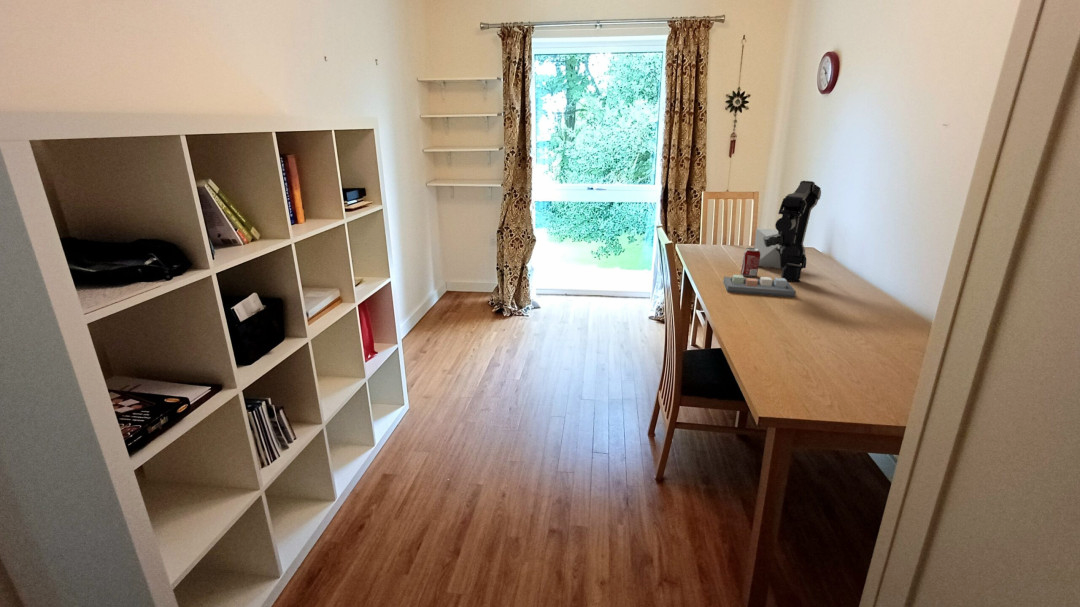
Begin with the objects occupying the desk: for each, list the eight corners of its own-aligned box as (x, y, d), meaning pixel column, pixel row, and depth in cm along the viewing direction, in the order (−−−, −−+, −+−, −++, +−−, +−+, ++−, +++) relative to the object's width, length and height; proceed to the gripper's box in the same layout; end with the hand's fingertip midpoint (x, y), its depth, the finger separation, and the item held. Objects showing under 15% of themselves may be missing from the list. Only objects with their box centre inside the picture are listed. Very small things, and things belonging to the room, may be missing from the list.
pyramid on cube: (755, 263, 230) (760, 223, 229) (749, 267, 253) (753, 231, 253) (795, 267, 225) (801, 226, 225) (785, 270, 249) (790, 234, 248)
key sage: (741, 281, 209) (742, 275, 209) (743, 284, 206) (744, 277, 205) (731, 280, 210) (732, 274, 209) (733, 283, 207) (734, 277, 206)
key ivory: (769, 283, 207) (770, 277, 207) (771, 286, 204) (772, 280, 203) (759, 282, 208) (760, 276, 207) (761, 285, 205) (762, 279, 204)
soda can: (759, 277, 224) (763, 251, 220) (743, 277, 224) (747, 250, 220) (753, 273, 230) (757, 247, 226) (738, 273, 230) (742, 247, 226)
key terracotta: (755, 284, 209) (756, 278, 208) (756, 287, 205) (757, 281, 204) (745, 284, 210) (746, 277, 209) (746, 286, 206) (747, 280, 205)
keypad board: (786, 287, 211) (787, 281, 211) (794, 297, 199) (795, 291, 198) (723, 282, 216) (724, 276, 215) (727, 292, 203) (728, 286, 202)
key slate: (783, 284, 206) (784, 278, 206) (785, 287, 203) (787, 281, 202) (773, 283, 207) (774, 277, 206) (775, 286, 204) (776, 280, 203)
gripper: (762, 223, 208) (756, 260, 213) (771, 232, 190) (764, 272, 196) (791, 224, 205) (785, 262, 211) (803, 234, 188) (795, 274, 194)
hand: (781, 267), depth 203 cm, fingers closed
